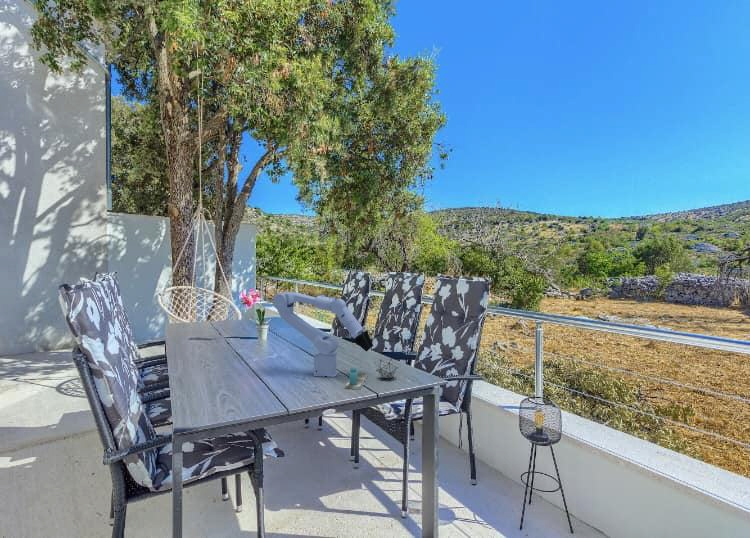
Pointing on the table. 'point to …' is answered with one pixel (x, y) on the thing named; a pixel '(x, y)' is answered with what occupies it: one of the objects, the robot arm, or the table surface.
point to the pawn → (353, 376)
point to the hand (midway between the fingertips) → (370, 348)
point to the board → (360, 382)
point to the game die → (387, 369)
